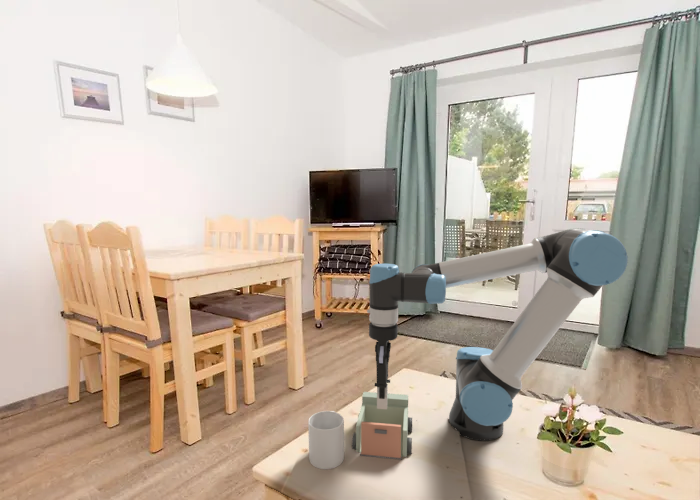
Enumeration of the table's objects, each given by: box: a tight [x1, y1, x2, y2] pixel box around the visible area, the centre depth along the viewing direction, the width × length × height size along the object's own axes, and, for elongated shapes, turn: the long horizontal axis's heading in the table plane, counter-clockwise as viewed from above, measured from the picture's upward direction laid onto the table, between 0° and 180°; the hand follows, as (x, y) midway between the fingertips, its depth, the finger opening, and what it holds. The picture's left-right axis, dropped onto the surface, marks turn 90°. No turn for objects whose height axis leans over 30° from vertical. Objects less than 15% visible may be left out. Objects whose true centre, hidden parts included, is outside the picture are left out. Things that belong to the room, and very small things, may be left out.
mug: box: [307, 410, 345, 470], centre depth 100 cm, size 12×9×11 cm
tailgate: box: [359, 422, 403, 461], centre depth 99 cm, size 10×2×9 cm, turn 80°
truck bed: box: [351, 391, 413, 458], centre depth 107 cm, size 15×15×10 cm
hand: (382, 407), depth 106 cm, fingers closed
